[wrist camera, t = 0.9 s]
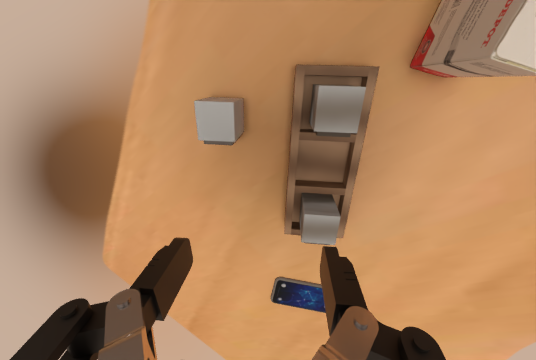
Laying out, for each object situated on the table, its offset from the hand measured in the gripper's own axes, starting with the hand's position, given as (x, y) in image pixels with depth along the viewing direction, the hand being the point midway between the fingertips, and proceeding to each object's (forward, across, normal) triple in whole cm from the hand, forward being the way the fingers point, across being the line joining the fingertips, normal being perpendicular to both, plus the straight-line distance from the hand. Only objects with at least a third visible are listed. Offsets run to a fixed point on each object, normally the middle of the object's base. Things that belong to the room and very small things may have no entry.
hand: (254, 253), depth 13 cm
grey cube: (+21, +7, -5) cm, 23 cm away
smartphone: (+22, -7, +31) cm, 38 cm away
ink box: (+22, -20, -14) cm, 32 cm away
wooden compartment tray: (+21, -7, +1) cm, 22 cm away
